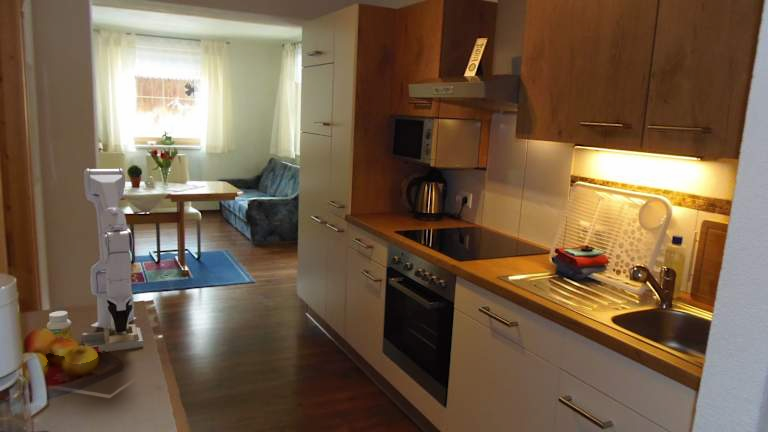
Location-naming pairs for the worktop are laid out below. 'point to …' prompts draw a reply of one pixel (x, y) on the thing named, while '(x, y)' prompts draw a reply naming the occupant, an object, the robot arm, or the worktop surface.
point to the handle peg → (115, 329)
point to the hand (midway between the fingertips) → (120, 328)
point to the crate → (120, 338)
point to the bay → (99, 341)
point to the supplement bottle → (60, 324)
